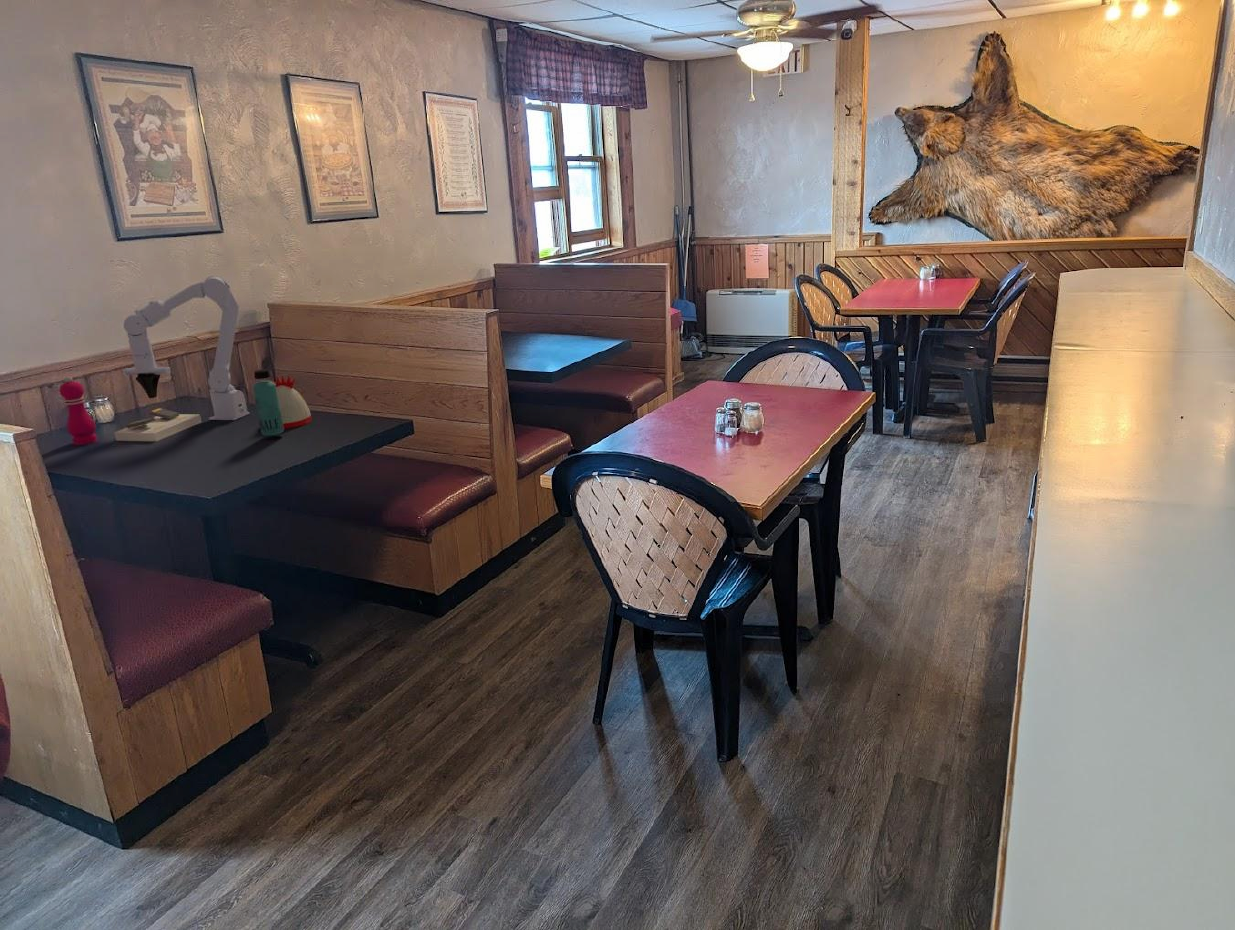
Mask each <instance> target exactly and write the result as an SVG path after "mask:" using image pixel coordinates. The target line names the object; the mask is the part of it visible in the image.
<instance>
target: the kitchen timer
mask: <svg viewBox="0 0 1235 930" xmlns="http://www.w3.org/2000/svg"><path fill="white" fill-rule="evenodd" d="M287 375H288V376H287V380H285V378H284V376H283V374H281V381H280V378H279V377H278V375H275V376H276V377H275V378H276V380H275V381H274V380H273V379H271V380H270V381H272V382H274V383H275V384H276V390H277V395H278V401H279V407H280V410H281V415H282V422H283V425H284V426H283V427H284V430H285V429H292V428H296V427H301V426H304V425H306V424H307V425H308V424H309V423H310V422H311V421H312V414H311V411H310V409H309V405H307V403H306V401H305V397H304V396H302V395H301V394H300V392H298V391H297V390H296V389H294V387H293V386H294V384H295V380H296V377H294V378H293V379H292V381H291V379H290V378H291V377H290V374H287Z"/></svg>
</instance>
